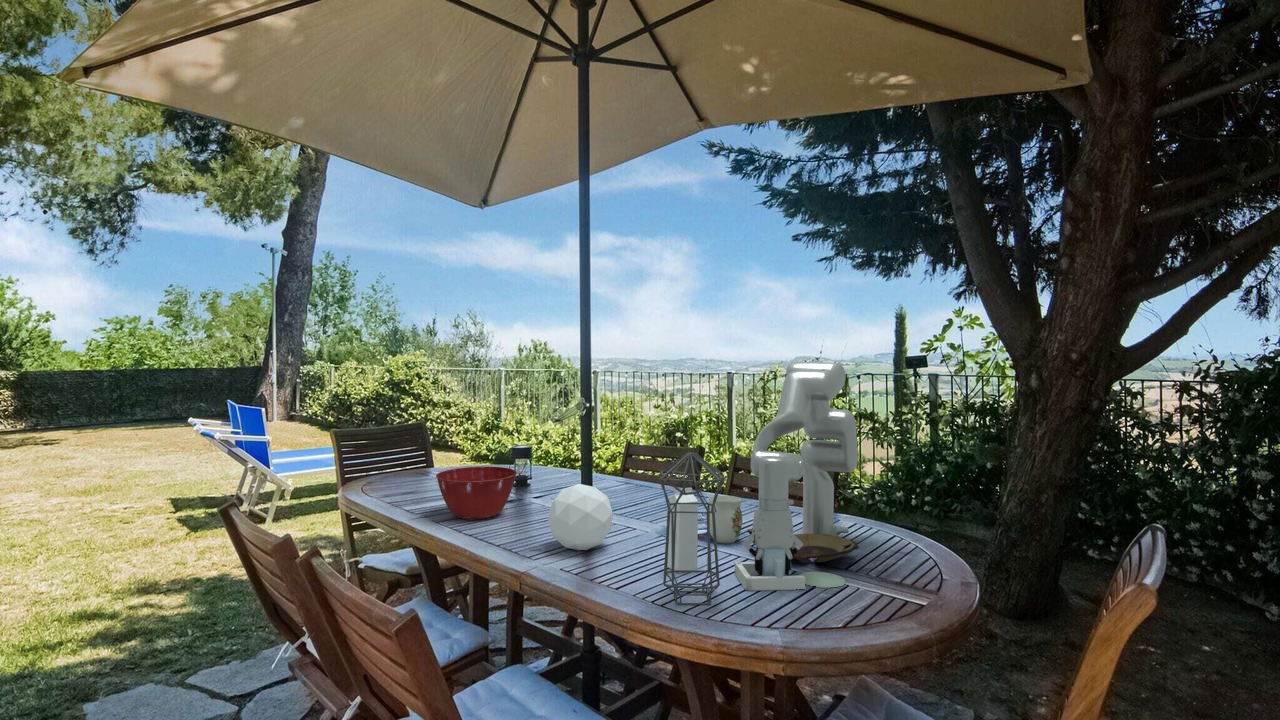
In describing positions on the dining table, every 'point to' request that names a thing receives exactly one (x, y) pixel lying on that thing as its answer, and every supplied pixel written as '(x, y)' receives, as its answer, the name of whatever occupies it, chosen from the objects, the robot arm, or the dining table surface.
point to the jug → (773, 562)
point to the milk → (684, 533)
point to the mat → (822, 579)
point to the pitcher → (726, 518)
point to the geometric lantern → (719, 479)
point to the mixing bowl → (476, 490)
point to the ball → (580, 517)
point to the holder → (765, 579)
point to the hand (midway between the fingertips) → (772, 572)
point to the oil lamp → (822, 547)
